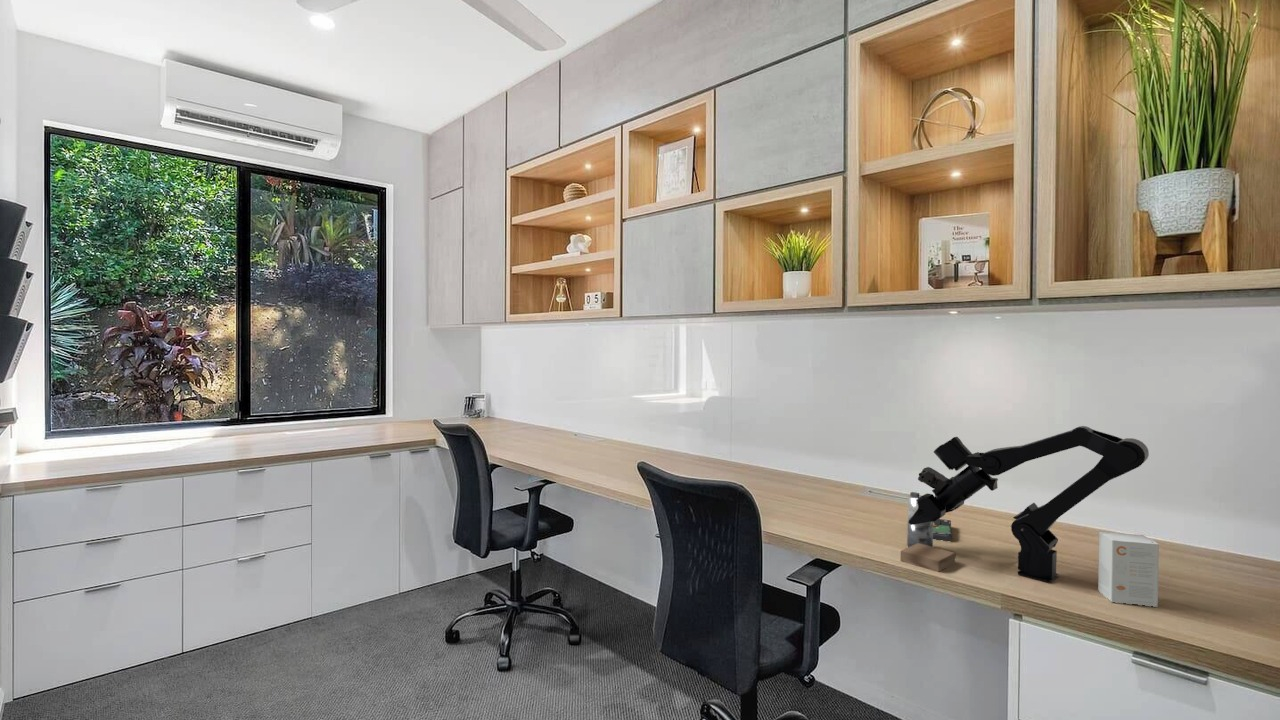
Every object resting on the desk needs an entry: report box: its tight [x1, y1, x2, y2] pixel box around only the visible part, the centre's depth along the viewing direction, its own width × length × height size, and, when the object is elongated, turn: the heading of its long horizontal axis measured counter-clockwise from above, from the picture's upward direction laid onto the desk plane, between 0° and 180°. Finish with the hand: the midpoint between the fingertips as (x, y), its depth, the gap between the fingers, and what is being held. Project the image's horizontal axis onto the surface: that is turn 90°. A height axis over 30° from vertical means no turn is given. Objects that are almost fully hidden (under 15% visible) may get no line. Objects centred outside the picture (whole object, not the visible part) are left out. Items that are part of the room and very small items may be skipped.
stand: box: [900, 543, 956, 573], centre depth 144 cm, size 9×9×2 cm
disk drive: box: [933, 518, 952, 542], centre depth 168 cm, size 10×3×15 cm
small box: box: [1097, 531, 1160, 608], centre depth 124 cm, size 8×6×13 cm
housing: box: [906, 491, 934, 548], centre depth 155 cm, size 6×6×14 cm
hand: (916, 519), depth 155 cm, fingers open, 9 cm apart
